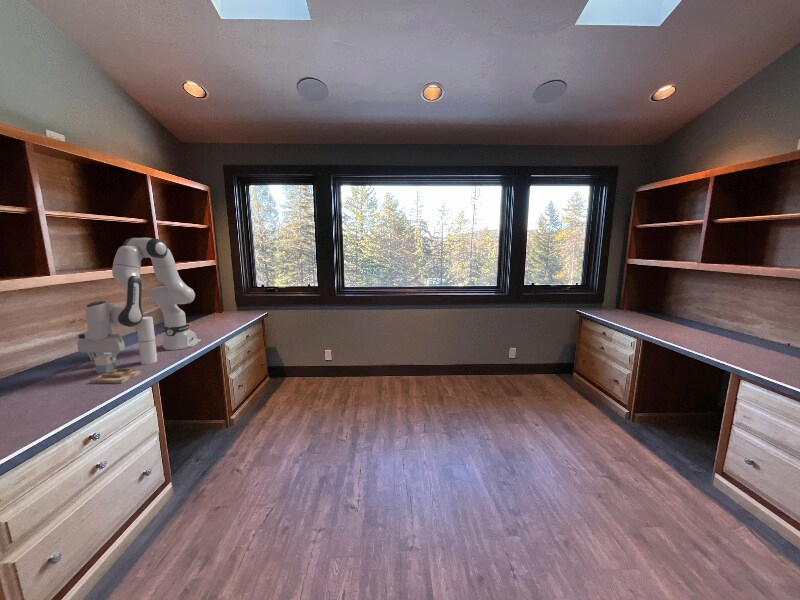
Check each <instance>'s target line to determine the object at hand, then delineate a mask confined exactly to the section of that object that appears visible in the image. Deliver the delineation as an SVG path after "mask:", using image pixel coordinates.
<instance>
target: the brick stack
mask: <svg viewBox="0 0 800 600" xmlns="http://www.w3.org/2000/svg"><path fill="white" fill-rule="evenodd" d="M112 355H113V354H103V355H100V356H97V357H95V358H94V360H95V361H94V365H95V373H96V374H98V373H99V374H105V373H108V372H110V371H112V370H114V369H116V366H115V365H116V364H115V363H114V361H110V357H112Z"/></svg>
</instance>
